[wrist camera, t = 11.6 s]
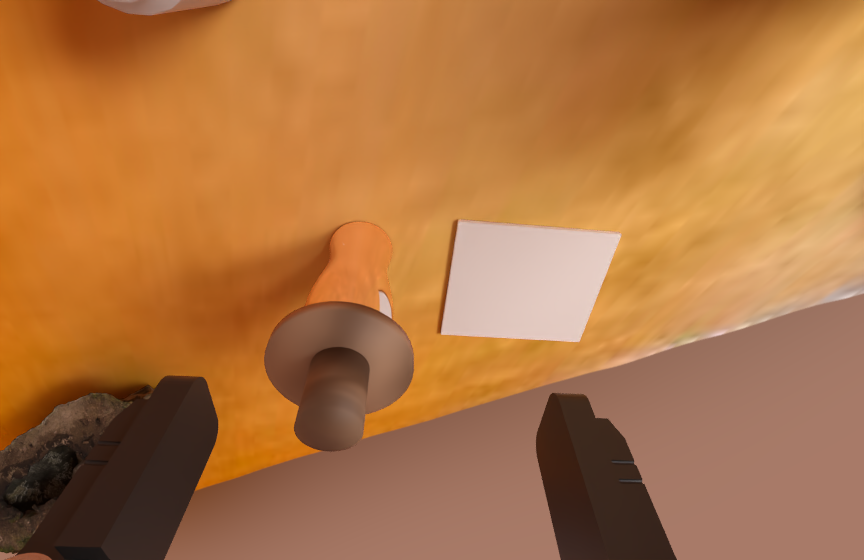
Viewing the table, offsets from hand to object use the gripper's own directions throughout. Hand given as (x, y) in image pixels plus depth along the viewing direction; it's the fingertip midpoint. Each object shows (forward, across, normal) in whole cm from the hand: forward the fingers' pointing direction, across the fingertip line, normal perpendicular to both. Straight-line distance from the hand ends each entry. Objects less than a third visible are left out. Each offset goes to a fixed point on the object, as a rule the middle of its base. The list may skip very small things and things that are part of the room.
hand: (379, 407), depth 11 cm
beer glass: (+31, +4, +14) cm, 34 cm away
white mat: (+31, -13, +18) cm, 38 cm away
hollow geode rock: (+30, +36, +41) cm, 62 cm away
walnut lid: (+15, +4, +14) cm, 21 cm away
